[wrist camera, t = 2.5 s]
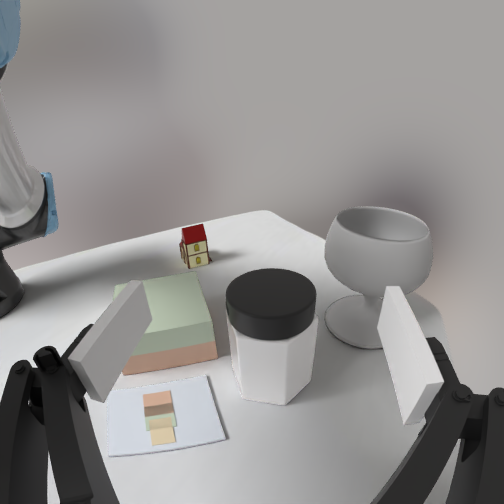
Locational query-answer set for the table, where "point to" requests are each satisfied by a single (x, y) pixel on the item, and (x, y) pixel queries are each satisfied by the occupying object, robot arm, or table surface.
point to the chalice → (373, 267)
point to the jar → (271, 333)
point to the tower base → (173, 325)
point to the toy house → (194, 246)
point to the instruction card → (162, 417)
